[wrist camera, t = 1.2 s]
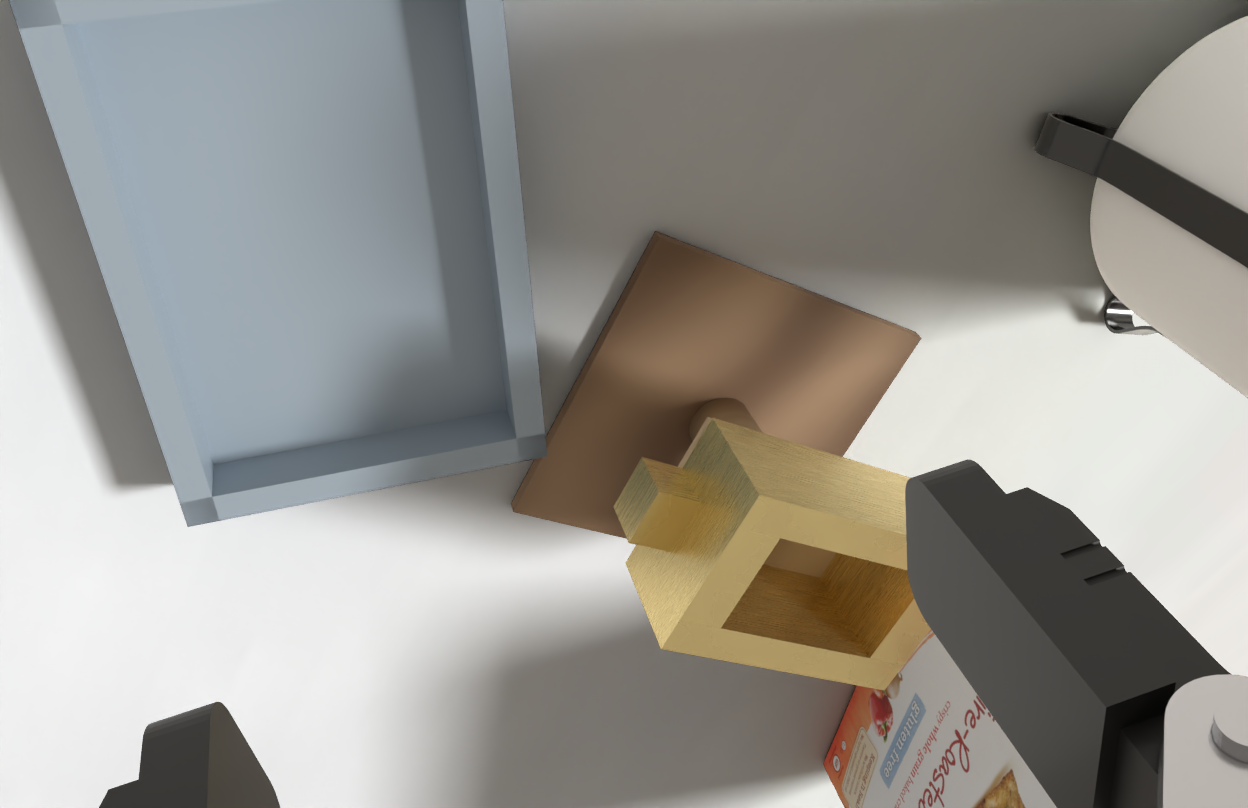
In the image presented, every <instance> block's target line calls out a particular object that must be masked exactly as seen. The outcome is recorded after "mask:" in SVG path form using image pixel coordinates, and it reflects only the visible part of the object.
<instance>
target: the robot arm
mask: <svg viewBox="0 0 1248 808" xmlns="http://www.w3.org/2000/svg"><path fill="white" fill-rule="evenodd" d="M905 504H906V541H907V571H908V578H909V583H910V587H911V590H912V593H913V596H914V599H915V601H916V603H917V606H918V608H919V610H920V612H921V614H922V616H923V617H924V619H925V621H926V622H927V624H928V625H929V627H930V628H931V629H932V631H933V632H934V634H935V635H936V637H937V638H938V639H939V641H940V642H941V644H942V645H943V646H944V648H945V649H946V651H947V652H948V654H949V655H950V656H951V658H952V659H953V661H954V662H955V664H956V665H957V666H958V668H959V669H960V671H961V672H962V673H963V675H964V676H965V678H966V679H967V681H968V682H969V683H970V685H971V686H972V688H973V689H974V691H975V692H976V693H977V695H978V696H979V698H980V699H981V700H982V702H983V703H984V705H985V706H986V708H987V709H988V710H989V712H990V713H991V715H992V716H993V718H994V719H995V720H996V722H997V723H998V725H999V726H1000V727H1001V729H1002V730H1003V732H1004V733H1005V735H1006V736H1007V737H1008V739H1009V740H1010V742H1011V743H1012V745H1013V746H1014V747H1015V749H1016V750H1017V752H1018V753H1019V754H1020V756H1021V757H1022V759H1023V760H1024V762H1025V763H1026V764H1027V766H1028V767H1029V769H1030V770H1031V772H1032V773H1033V774H1034V776H1035V777H1036V779H1037V780H1038V781H1039V783H1040V784H1041V786H1042V787H1043V789H1044V790H1045V791H1046V793H1047V794H1048V796H1049V797H1050V799H1051V800H1052V801H1053V803H1054V804H1055V806H1056V807H1057V808H1248V677H1246V676H1240V675H1231V674H1230V673H1229V672H1228V671H1226V670H1225V669H1224V668H1223V667H1222V666H1221V665H1220V664H1219V663H1218V662H1217V661H1216V660H1215V659H1214V658H1213V657H1212V656H1211V655H1210V654H1209V653H1208V652H1207V651H1206V650H1205V649H1204V648H1203V647H1202V646H1201V645H1200V644H1199V643H1198V642H1197V640H1196V639H1195V638H1194V637H1193V636H1192V635H1191V634H1190V633H1189V632H1188V631H1187V630H1186V629H1185V628H1184V627H1183V626H1182V625H1181V624H1180V623H1179V622H1178V621H1177V620H1176V619H1175V618H1174V617H1173V616H1172V615H1171V614H1170V613H1169V612H1168V610H1167V609H1166V608H1165V607H1164V606H1163V605H1162V604H1161V603H1160V602H1159V601H1158V600H1157V599H1156V598H1155V597H1154V596H1153V595H1152V594H1151V593H1150V592H1149V591H1148V590H1147V589H1146V588H1145V587H1144V586H1143V585H1142V584H1141V583H1140V582H1139V580H1138V579H1137V578H1136V577H1135V576H1134V575H1133V574H1132V573H1131V572H1128V573H1127V572H1126V571H1125V569H1124V565H1123V564H1122V563H1121V562H1120V561H1119V560H1118V559H1117V558H1116V557H1115V556H1114V555H1113V554H1112V553H1111V552H1110V550H1109V549H1108V548H1107V547H1106V546H1105V547H1102V546H1101V544H1100V540H1099V539H1098V538H1097V537H1096V536H1095V535H1094V534H1093V533H1092V532H1091V531H1090V530H1089V529H1088V528H1087V527H1086V526H1085V525H1084V524H1083V523H1082V522H1081V520H1080V519H1079V518H1078V517H1077V516H1076V515H1075V514H1074V513H1073V512H1072V511H1071V510H1070V509H1068V508H1066V507H1064V506H1062V505H1060V504H1059V503H1057V502H1055V501H1053V500H1051V499H1049V498H1047V497H1045V496H1043V495H1041V494H1039V493H1037V492H1035V491H1033V490H1031V489H1029V488H1024V489H1021V490H1018V491H1015V492H1012V493H1009V494H1005V493H1004V491H1003V490H1002V489H1001V488H1000V487H999V486H998V485H997V484H996V483H995V481H994V480H993V479H992V478H991V477H990V476H989V475H988V474H987V473H986V472H985V470H984V469H983V468H982V467H981V466H980V465H979V464H977V463H976V462H974V461H972V460H965V461H962V462H959V463H956V464H952V465H949V466H946V467H943V468H940V469H937V470H934V471H931V472H928V473H925V474H922V475H919V476H916V477H913V478H910V479H909V480H908V481H907V483H906V488H905ZM99 808H280V805H279V802H278V799H277V796H276V793H275V791H274V788H273V786H272V784H271V782H270V780H269V779H268V777H267V775H266V773H265V772H264V770H263V768H262V767H261V765H260V763H259V762H258V760H257V758H256V757H255V755H254V753H253V751H252V750H251V748H250V746H249V745H248V743H247V741H246V740H245V738H244V736H243V735H242V733H241V731H240V729H239V728H238V726H237V724H236V723H235V721H234V719H233V718H232V716H231V714H230V713H229V711H228V710H227V708H226V707H225V706H224V705H223V704H222V703H220V702H215V703H212V704H209V705H206V706H203V707H200V708H197V709H194V710H191V711H188V712H185V713H182V714H178V715H175V716H172V717H169V718H166V719H163V720H160V721H157V722H154V723H151V724H149V725H148V726H147V727H146V729H145V732H144V735H143V742H142V752H141V762H140V772H139V780H136V781H133V782H130V783H127V784H124V785H121V786H118V787H115V788H112V789H109V790H108V792H107V794H106V796H105V798H104V799H103V801H102V803H101V805H100V807H99Z"/></svg>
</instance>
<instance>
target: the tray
mask: <svg viewBox="0 0 1248 808" xmlns="http://www.w3.org/2000/svg"><path fill="white" fill-rule="evenodd" d="M9 3H10V6H11V9H12V11H13V14H14V17H15V20H16V23H17V26H18V29H19V32H20V35H21V38H22V41H23V44H24V47H25V50H26V53H27V56H28V58H29V61H30V64H31V67H32V70H33V73H34V76H35V79H36V82H37V85H38V88H39V91H40V94H41V97H42V100H43V103H44V105H45V108H46V111H47V114H48V117H49V120H50V123H51V126H52V129H53V132H54V135H55V138H56V141H57V144H58V147H59V150H60V153H61V155H62V158H63V161H64V164H65V167H66V170H67V173H68V176H69V179H70V182H71V185H72V188H73V191H74V194H75V197H76V200H77V202H78V205H79V208H80V211H81V214H82V217H83V220H84V223H85V226H86V229H87V232H88V235H89V238H90V241H91V244H92V247H93V249H94V252H95V255H96V258H97V261H98V264H99V267H100V270H101V273H102V276H103V279H104V282H105V285H106V288H107V291H108V294H109V296H110V299H111V302H112V305H113V308H114V311H115V314H116V317H117V320H118V323H119V326H120V329H121V332H122V335H123V338H124V341H125V344H126V346H127V349H128V352H129V355H130V358H131V361H132V364H133V367H134V370H135V373H136V376H137V379H138V382H139V385H140V388H141V391H142V393H143V396H144V399H145V402H146V405H147V408H148V411H149V414H150V417H151V420H152V423H153V426H154V429H155V432H156V435H157V438H158V440H159V443H160V446H161V449H162V452H163V455H164V458H165V461H166V464H167V467H168V470H169V473H170V476H171V479H172V482H173V485H174V487H175V490H176V493H177V496H178V499H179V502H180V505H181V508H182V511H183V514H184V517H185V520H186V523H187V526H188V527H190V526H195V525H200V524H205V523H210V522H216V521H221V520H226V519H231V518H236V517H241V516H246V515H251V514H256V513H261V512H267V511H272V510H277V509H282V508H287V507H292V506H297V505H302V504H307V503H312V502H318V501H323V500H328V499H333V498H338V497H343V496H348V495H353V494H358V493H364V492H369V491H374V490H379V489H384V488H389V487H394V486H399V485H404V484H409V483H415V482H420V481H425V480H430V479H435V478H440V477H445V476H450V475H455V474H460V473H466V472H471V471H476V470H481V469H486V468H491V467H496V466H501V465H506V464H512V463H517V462H522V461H527V460H532V459H537V458H542V457H547V447H546V437H545V427H544V416H543V406H542V396H541V386H540V375H539V365H538V355H537V345H536V335H535V324H534V314H533V304H532V294H531V283H530V273H529V263H528V253H527V243H526V232H525V222H524V212H523V202H522V191H521V181H520V171H519V161H518V151H517V140H516V130H515V120H514V110H513V99H512V89H511V79H510V69H509V59H508V48H507V38H506V28H505V18H504V7H503V0H9Z"/></svg>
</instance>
